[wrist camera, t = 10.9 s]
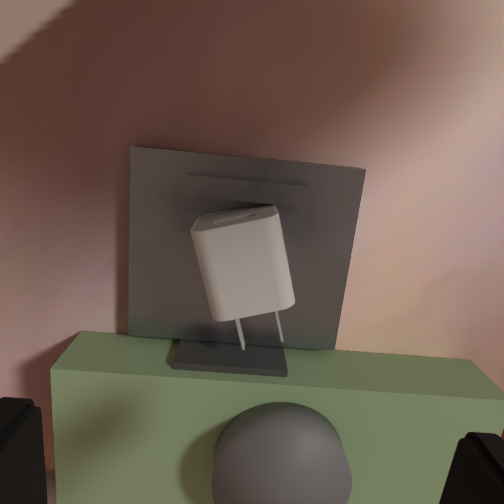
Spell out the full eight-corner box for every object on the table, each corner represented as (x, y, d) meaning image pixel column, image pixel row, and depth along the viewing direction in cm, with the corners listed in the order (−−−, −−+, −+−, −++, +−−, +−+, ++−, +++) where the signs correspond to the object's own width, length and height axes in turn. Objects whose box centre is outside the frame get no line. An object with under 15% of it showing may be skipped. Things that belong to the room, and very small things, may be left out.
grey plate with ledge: (135, 145, 21) (121, 146, 18) (360, 168, 21) (375, 172, 19) (132, 327, 24) (120, 348, 21) (330, 342, 24) (340, 364, 22)
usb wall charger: (272, 200, 21) (280, 215, 17) (295, 319, 23) (306, 356, 19) (198, 216, 21) (188, 234, 17) (226, 332, 23) (224, 372, 19)
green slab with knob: (81, 324, 23) (28, 385, 18) (472, 354, 25) (542, 420, 19) (84, 454, 26) (39, 544, 20) (437, 475, 27) (490, 565, 22)
